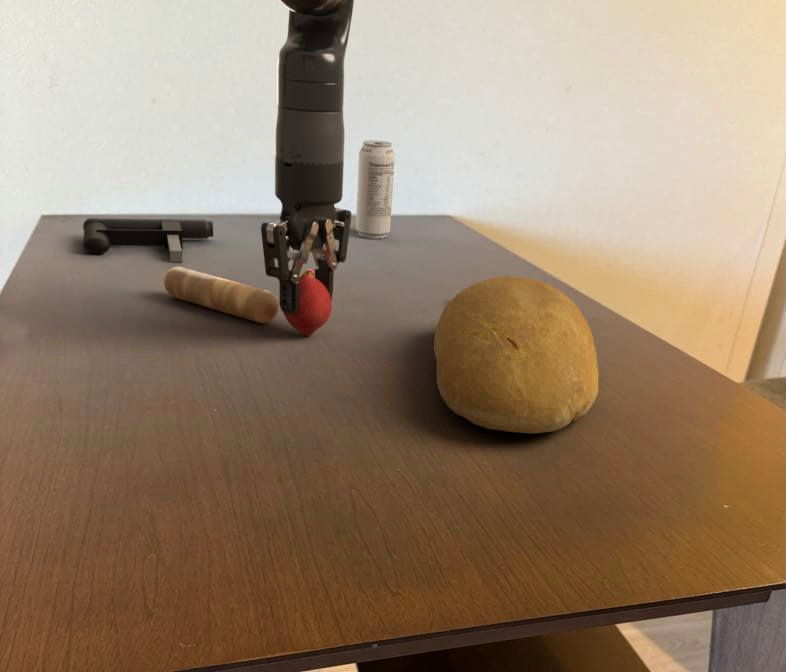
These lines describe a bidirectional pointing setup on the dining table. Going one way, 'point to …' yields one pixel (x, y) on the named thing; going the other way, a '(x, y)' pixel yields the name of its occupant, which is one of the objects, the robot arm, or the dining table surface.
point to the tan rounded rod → (221, 294)
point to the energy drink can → (374, 189)
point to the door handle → (143, 233)
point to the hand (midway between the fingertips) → (306, 306)
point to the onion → (310, 305)
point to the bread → (515, 356)
